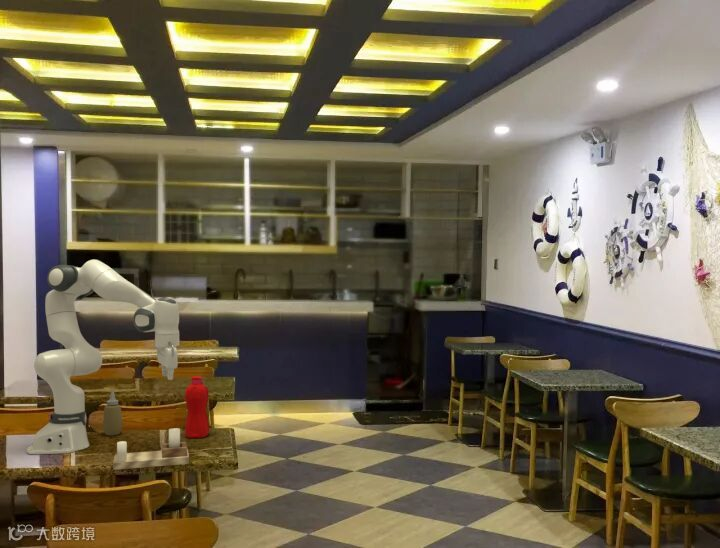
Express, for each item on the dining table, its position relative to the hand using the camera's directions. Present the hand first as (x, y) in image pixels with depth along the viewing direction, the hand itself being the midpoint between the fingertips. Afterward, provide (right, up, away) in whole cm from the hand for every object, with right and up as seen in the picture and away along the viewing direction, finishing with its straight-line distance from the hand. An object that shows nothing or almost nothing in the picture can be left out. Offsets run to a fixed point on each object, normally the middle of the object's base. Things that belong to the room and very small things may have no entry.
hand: (167, 377), depth 269 cm
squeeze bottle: (-32, -29, +33) cm, 54 cm away
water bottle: (+5, -29, +29) cm, 41 cm away
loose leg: (+4, -27, -8) cm, 28 cm away
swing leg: (-12, -27, -14) cm, 33 cm away
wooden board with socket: (-3, -29, -10) cm, 31 cm away
